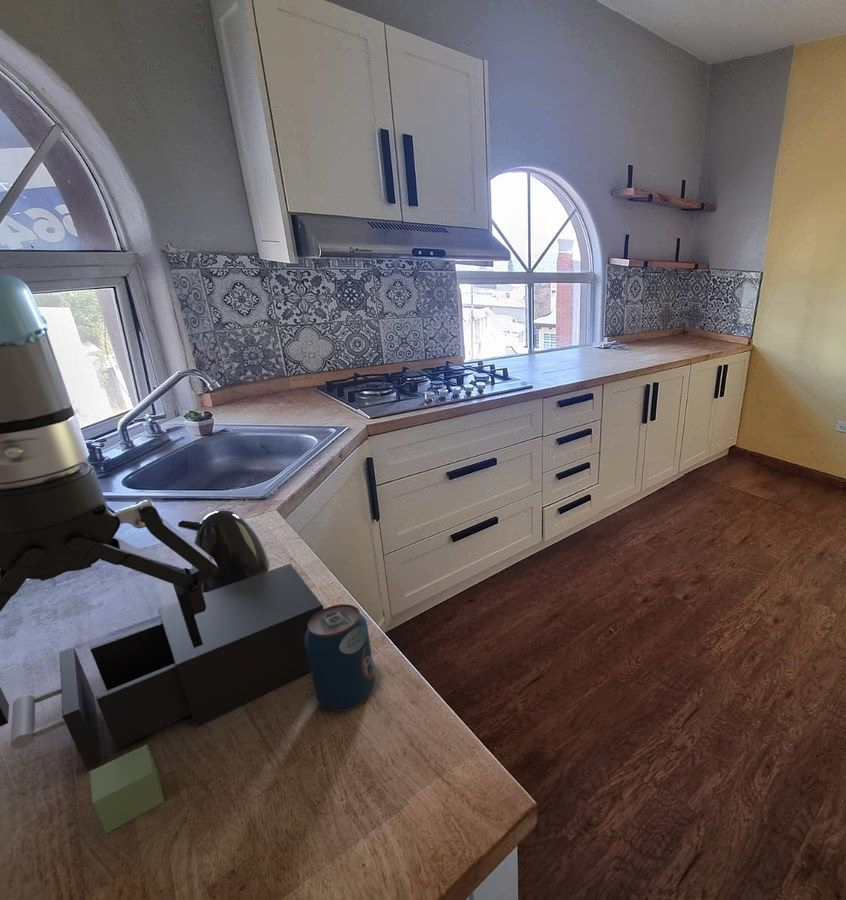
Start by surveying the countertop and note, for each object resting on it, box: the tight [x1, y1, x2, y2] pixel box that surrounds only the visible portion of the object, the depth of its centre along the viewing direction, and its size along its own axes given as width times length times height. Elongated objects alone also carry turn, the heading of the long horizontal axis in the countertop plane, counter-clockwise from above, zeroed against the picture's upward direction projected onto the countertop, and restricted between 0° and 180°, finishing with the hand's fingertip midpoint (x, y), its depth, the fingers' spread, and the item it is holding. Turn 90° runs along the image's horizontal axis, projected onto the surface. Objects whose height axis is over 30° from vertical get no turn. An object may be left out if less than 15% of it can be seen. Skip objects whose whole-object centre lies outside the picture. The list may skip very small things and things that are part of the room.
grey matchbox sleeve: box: [157, 563, 325, 728], centre depth 68 cm, size 16×14×10 cm
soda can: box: [304, 603, 376, 712], centre depth 63 cm, size 7×7×12 cm
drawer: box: [10, 620, 192, 771], centre depth 60 cm, size 19×12×8 cm, turn 136°
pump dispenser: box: [177, 509, 271, 594], centre depth 81 cm, size 10×10×15 cm
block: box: [89, 744, 165, 834], centre depth 51 cm, size 4×4×4 cm
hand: (108, 674), depth 48 cm, fingers open, 13 cm apart
